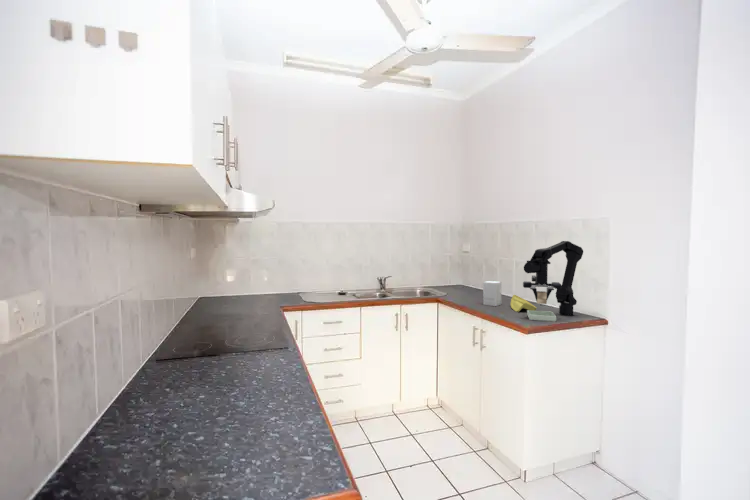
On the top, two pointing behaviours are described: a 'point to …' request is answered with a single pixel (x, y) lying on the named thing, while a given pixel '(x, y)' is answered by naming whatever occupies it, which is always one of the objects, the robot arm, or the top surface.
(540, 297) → the beech block
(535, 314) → the tray
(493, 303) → the supplement box
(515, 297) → the plastic component
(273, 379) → the top surface
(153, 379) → the top surface
